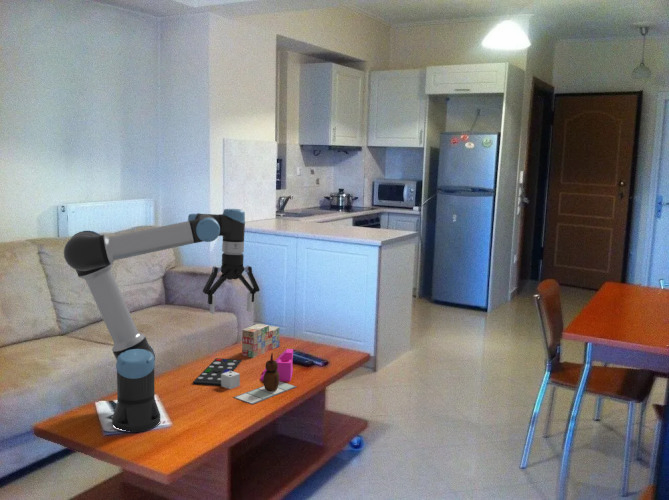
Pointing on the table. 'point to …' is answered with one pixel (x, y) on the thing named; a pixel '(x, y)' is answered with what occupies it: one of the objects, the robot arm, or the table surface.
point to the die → (230, 379)
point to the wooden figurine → (271, 375)
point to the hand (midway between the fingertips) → (230, 312)
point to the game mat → (263, 393)
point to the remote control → (216, 371)
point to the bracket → (284, 365)
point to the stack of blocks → (259, 339)
